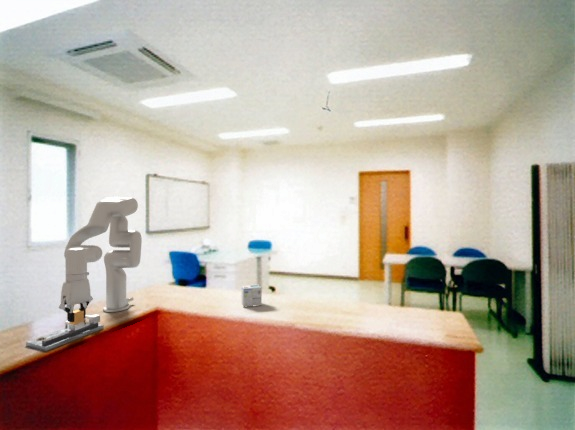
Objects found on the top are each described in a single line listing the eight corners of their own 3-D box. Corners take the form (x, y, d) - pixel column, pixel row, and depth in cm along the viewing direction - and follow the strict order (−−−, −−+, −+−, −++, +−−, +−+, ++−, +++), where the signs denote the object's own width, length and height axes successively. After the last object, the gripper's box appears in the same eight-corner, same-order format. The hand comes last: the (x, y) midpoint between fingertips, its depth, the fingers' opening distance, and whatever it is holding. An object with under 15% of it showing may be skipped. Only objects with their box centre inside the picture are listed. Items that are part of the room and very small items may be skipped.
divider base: (84, 324, 145) (84, 311, 144) (103, 328, 140) (103, 315, 140) (26, 345, 122) (25, 330, 122) (46, 351, 118) (45, 335, 118)
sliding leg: (70, 326, 136) (70, 308, 136) (84, 329, 133) (84, 310, 133) (60, 330, 132) (60, 310, 132) (75, 333, 129) (74, 313, 129)
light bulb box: (259, 302, 181) (259, 284, 181) (261, 306, 175) (262, 287, 175) (241, 304, 178) (241, 285, 178) (243, 307, 171) (243, 288, 171)
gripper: (89, 272, 140) (89, 312, 141) (49, 280, 125) (49, 325, 125) (100, 274, 138) (101, 314, 138) (61, 282, 122) (62, 328, 123)
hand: (76, 319), depth 132 cm, fingers closed on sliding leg, 4 cm apart
